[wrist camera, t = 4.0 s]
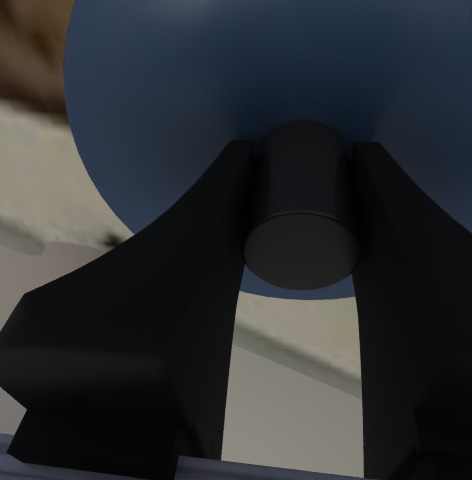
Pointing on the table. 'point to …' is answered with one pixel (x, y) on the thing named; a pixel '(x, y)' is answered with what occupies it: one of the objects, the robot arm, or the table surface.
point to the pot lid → (273, 115)
